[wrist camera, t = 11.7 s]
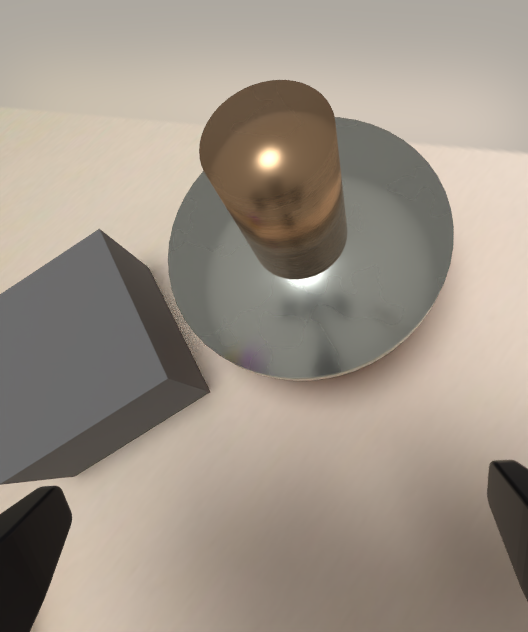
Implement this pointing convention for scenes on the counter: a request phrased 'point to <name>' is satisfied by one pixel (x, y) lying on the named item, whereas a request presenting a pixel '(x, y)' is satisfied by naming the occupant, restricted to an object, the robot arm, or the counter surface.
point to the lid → (306, 237)
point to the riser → (86, 362)
